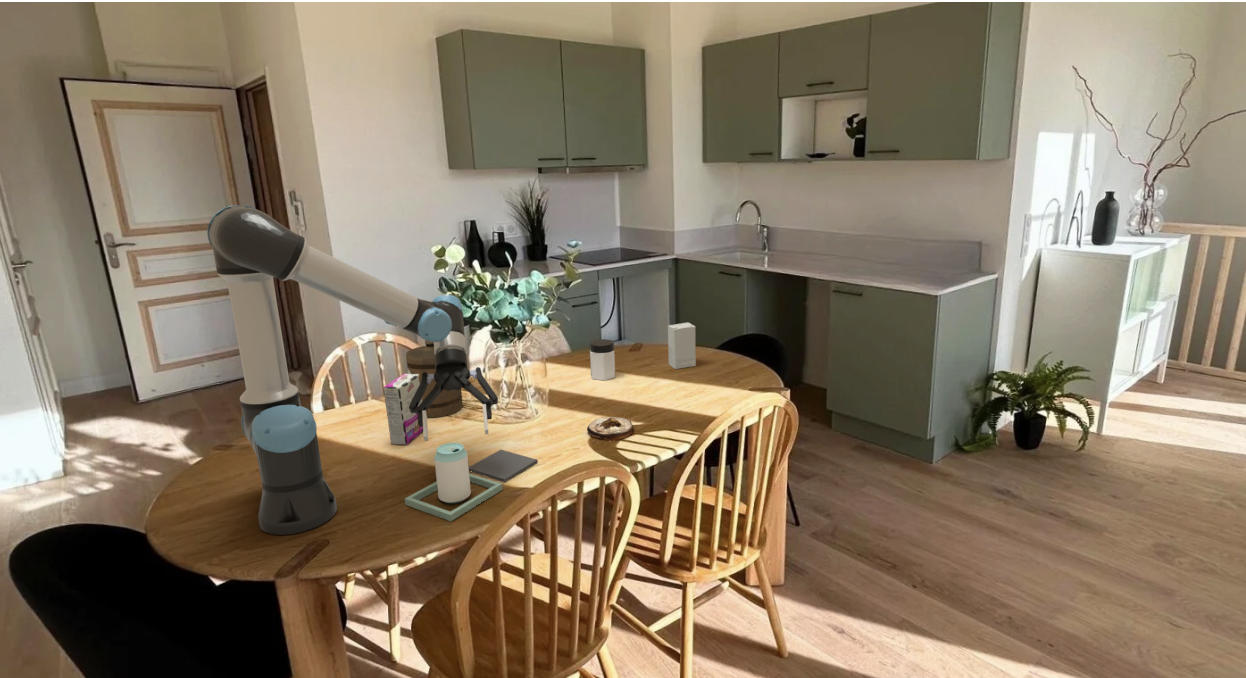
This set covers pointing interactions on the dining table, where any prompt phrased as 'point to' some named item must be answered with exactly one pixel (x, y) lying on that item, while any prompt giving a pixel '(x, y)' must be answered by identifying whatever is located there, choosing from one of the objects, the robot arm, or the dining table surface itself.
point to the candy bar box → (402, 409)
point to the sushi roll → (610, 428)
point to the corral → (450, 516)
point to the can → (452, 473)
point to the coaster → (502, 465)
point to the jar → (602, 359)
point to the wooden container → (425, 362)
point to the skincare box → (681, 345)
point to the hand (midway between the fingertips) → (456, 435)
